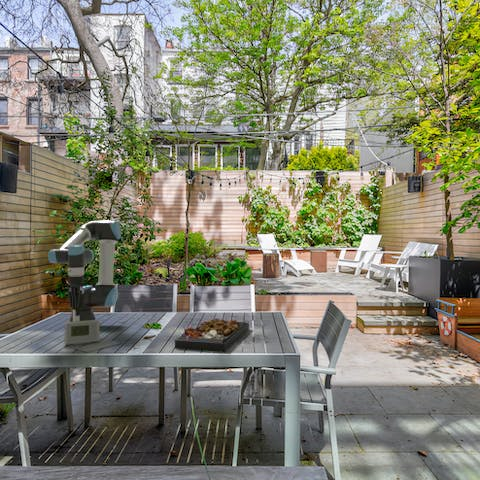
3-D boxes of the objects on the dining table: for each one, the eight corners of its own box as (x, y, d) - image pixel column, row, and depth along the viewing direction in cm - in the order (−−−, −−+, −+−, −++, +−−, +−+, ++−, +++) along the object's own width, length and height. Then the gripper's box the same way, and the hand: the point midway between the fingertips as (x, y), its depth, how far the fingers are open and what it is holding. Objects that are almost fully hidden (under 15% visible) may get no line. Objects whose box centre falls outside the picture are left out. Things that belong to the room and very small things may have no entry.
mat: (75, 349, 172) (75, 348, 172) (108, 340, 187) (108, 339, 187) (87, 352, 167) (87, 351, 167) (120, 343, 181) (120, 342, 181)
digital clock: (62, 346, 178) (62, 324, 178) (67, 341, 187) (67, 320, 187) (97, 344, 181) (97, 322, 181) (101, 339, 190) (101, 318, 190)
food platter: (224, 353, 166) (224, 330, 166) (174, 349, 173) (174, 327, 173) (249, 330, 210) (248, 312, 210) (208, 328, 216) (208, 310, 216)
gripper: (62, 275, 188) (62, 321, 188) (76, 276, 181) (76, 324, 180) (76, 274, 194) (76, 319, 194) (90, 275, 187) (90, 322, 187)
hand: (76, 321), depth 187 cm, fingers closed
